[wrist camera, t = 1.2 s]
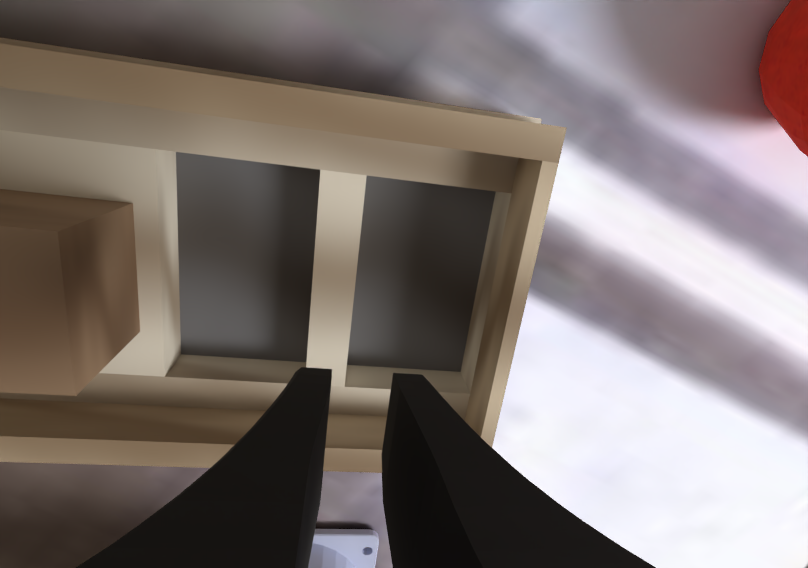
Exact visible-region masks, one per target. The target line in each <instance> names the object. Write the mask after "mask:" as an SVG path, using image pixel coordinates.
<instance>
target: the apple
mask: <svg viewBox="0 0 808 568" xmlns="http://www.w3.org/2000/svg"><path fill="white" fill-rule="evenodd" d="M759 75H760V81H761V87H762V93H763V99H764V104H765V105H766V107H767V108H768V109H769V111H770V112H771V113H772V114H773V116H774V117H775V118H776V120H777V121H778V122H779V124H780V125H781V126H782V128H783V129H784V130H785V131H786V133H787V134H788V135H789V137H790V138H791V139H792V141H793V142H794V143H795V144H796V146H797V147H798V148H799V150H800V151H802V152H803V153H804V154H805V155H807V156H808V0H791V1H790V2H789V4H788V5H787V7H786V8H785V9H784V11H783V12H782V14H781V15H780V16H779V18H778V19H777V21H776V22H775V24H774V25H773V26H772V28H771V29H770V31H769V33H768V37H767V40H766V44H765V48H764V51H763V55H762V59H761V62H760V66H759Z"/></svg>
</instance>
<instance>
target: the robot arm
mask: <svg viewBox="0 0 808 568" xmlns="http://www.w3.org/2000/svg"><path fill="white" fill-rule="evenodd" d="M331 380H332V369H323V368H307V367H301V368H300V369H298V370H297V371H296V372H295V373H294V375H293V377H292V378H291V380H290V381H289V383H288V384H287V385H286V387H285V388H284V390H283V391H282V392H281V393H280V395H279V396H278V397H277V399H276V400H275V401H274V402H273V404H272V405H271V406H270V407H269V408H268V409H267V411H266V412H265V413H264V414H263V415H262V416H261V417H260V419H259V420H258V421H257V422H256V423H255V424H254V425H253V427H252V428H251V429H250V430H249V431H248V432H247V433H246V434H245V435H244V436H243V437H242V438H241V439H240V440H239V441H238V442H237V443H236V444H235V445H234V446H233V447H232V448H231V449H230V450H229V451H228V452H227V453H226V454H225V455H224V456H223V457H222V458H221V459H220V460H219V461H217V462H216V463H215V464H214V465H213V466H212V467H211V468H210V469H209V470H208V471H206V472H205V473H204V474H203V475H202V476H201V477H200V478H198V479H197V480H196V481H195V482H194V483H192V484H191V485H190V486H189V487H188V488H186V489H185V490H184V491H183V492H182V493H180V494H179V495H178V496H177V497H175V498H174V499H173V500H172V501H170V502H169V503H168V504H166V505H165V506H164V507H162V508H161V509H160V510H158V511H157V512H156V513H154V514H153V515H152V516H150V517H149V518H148V519H147V520H145V521H144V522H143V523H141V524H140V525H138V526H137V527H136V528H134V529H133V530H132V531H130V532H129V533H127V534H126V535H125V536H123V537H122V538H120V539H119V540H117V541H116V542H115V543H113V544H112V545H110V546H109V547H107V548H106V549H104V550H103V551H101V552H99V553H98V554H96V555H95V556H93V557H92V558H90V559H89V560H87V561H86V562H84V563H82V564H81V565H79V566H78V567H76V568H375V564H376V557H377V551H378V544H379V539H378V534H377V532H376V531H374V530H370V529H315V527H316V521H317V516H318V510H319V505H320V498H321V488H322V477H323V466H324V456H325V445H326V435H327V424H328V413H329V403H330V392H331ZM382 487H383V504H384V511H385V518H386V525H387V531H388V538H389V545H390V551H391V558H392V564H393V568H655V567H654V566H652V565H651V564H649V563H647V562H646V561H644V560H642V559H641V558H639V557H637V556H636V555H634V554H633V553H631V552H629V551H628V550H626V549H624V548H623V547H621V546H620V545H618V544H617V543H615V542H614V541H612V540H611V539H609V538H608V537H606V536H605V535H603V534H602V533H600V532H599V531H597V530H596V529H594V528H593V527H591V526H590V525H588V524H587V523H585V522H584V521H582V520H581V519H579V518H578V517H576V516H575V515H574V514H572V513H571V512H569V511H568V510H567V509H565V508H564V507H562V506H561V505H560V504H558V503H557V502H556V501H555V500H553V499H552V498H551V497H549V496H548V495H547V494H546V493H544V492H543V491H542V490H540V489H539V488H538V487H537V486H535V485H534V484H533V483H531V482H530V481H529V480H528V479H526V478H525V477H524V476H523V475H522V474H520V473H519V472H518V471H517V470H516V469H515V468H513V467H512V466H511V465H510V464H509V463H508V462H507V461H506V460H505V459H503V458H502V457H501V456H500V455H499V454H498V453H497V452H496V451H495V450H494V449H493V448H491V447H490V446H489V445H488V444H487V443H486V442H485V441H484V440H483V439H482V438H481V437H480V436H479V435H478V434H477V433H476V432H475V431H474V430H473V429H472V428H471V427H470V426H469V425H468V424H467V423H466V422H465V421H464V420H463V419H462V418H461V417H460V415H459V414H458V413H457V412H456V411H455V410H454V409H453V408H452V407H451V406H450V405H449V403H448V402H447V401H446V400H445V399H444V398H443V397H442V396H441V395H440V393H439V392H438V391H437V390H436V389H435V388H434V387H433V386H432V384H431V383H430V382H429V381H428V380H427V379H426V378H425V377H424V376H423V375H421V374H405V373H393V377H392V385H391V392H390V399H389V406H388V413H387V420H386V427H385V434H384V441H383V448H382ZM365 547H370V548H365Z"/></svg>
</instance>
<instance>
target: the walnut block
mask: <svg viewBox="0 0 808 568" xmlns="http://www.w3.org/2000/svg"><path fill="white" fill-rule="evenodd" d="M139 332H140V318H139V301H138V283H137V265H136V247H135V230H134V212H133V203H128V202H118V201H109V200H100V199H90V198H81V197H72V196H62V195H53V194H44V193H34V192H25V191H16V190H6V189H0V392H5V393H25V394H46V395H66V396H76V395H77V394H78V393H79V392H80V391H81V390H82V389H83V388H84V387H85V386H86V385H87V384H88V383H89V382H90V381H91V380H92V379H93V378H94V377H95V376H96V375H97V374H98V373H99V372H100V371H101V370H102V369H103V368H104V367H105V366H106V365H107V364H108V363H109V362H110V361H111V360H112V359H113V358H114V357H115V356H116V355H117V354H118V353H119V352H120V351H121V350H122V349H123V348H124V347H125V346H126V345H127V344H128V343H129V342H130V341H131V340H132V339H133V338H134V337H135V336H136V335H137V334H138V333H139Z"/></svg>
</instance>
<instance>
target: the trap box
mask: <svg viewBox="0 0 808 568" xmlns="http://www.w3.org/2000/svg"><path fill="white" fill-rule="evenodd" d="M541 120H542V119H539V118H532V117H525V116H519V115H512V114H505V113H499V112H492V111H486V110H479V109H472V108H466V107H459V106H452V105H446V104H439V103H432V102H426V101H419V100H412V99H406V98H399V97H393V96H386V95H379V94H373V93H366V92H359V91H353V90H346V89H339V88H333V87H326V86H320V85H313V84H306V83H300V82H293V81H286V80H280V79H273V78H266V77H260V76H253V75H246V74H240V73H233V72H227V71H220V70H213V69H207V68H200V67H193V66H187V65H180V64H173V63H167V62H160V61H154V60H147V59H140V58H134V57H127V56H120V55H114V54H107V53H100V52H94V51H87V50H80V49H74V48H67V47H61V46H54V45H47V44H41V43H34V42H27V41H21V40H14V39H7V38H1V37H0V189H6V190H16V191H25V192H34V193H44V194H53V195H62V196H72V197H81V198H90V199H100V200H109V201H118V202H128V203H133V212H134V230H135V247H136V265H137V283H138V301H139V318H140V332H139V333H138V334H137V335H136V336H135V337H134V338H133V339H132V340H131V341H130V342H129V343H128V344H127V345H126V346H125V347H124V348H123V349H122V350H121V351H120V352H119V353H118V354H117V355H116V356H115V357H114V358H113V359H112V360H111V361H110V362H109V363H108V364H107V365H106V366H105V367H104V368H103V369H102V370H101V371H100V372H99V373H98V374H97V375H96V376H95V377H94V378H93V379H92V380H91V381H90V382H89V383H88V384H87V385H86V386H85V387H84V388H83V389H82V390H81V391H80V392H79V393H78V394H77V395H76V396H66V395H46V394H25V393H5V392H0V462H28V463H63V464H98V465H132V466H167V467H202V468H211V467H212V466H213V465H214V464H215V463H216V462H217V461H219V460H220V459H221V458H222V457H223V456H224V455H225V454H226V453H227V452H228V451H229V450H230V449H231V448H232V447H233V446H234V445H235V444H236V443H237V442H238V441H239V440H240V439H241V438H242V437H243V436H244V435H245V434H246V433H247V432H248V431H249V430H250V429H251V428H252V427H253V425H254V424H255V423H256V422H257V421H258V420H259V419H260V417H261V416H262V415H263V414H264V413H265V412H266V411H267V409H268V408H269V407H270V406H271V405H272V404H273V402H274V401H275V400H276V399H277V397H278V396H279V395H280V393H281V392H282V391H283V390H284V388H285V387H286V385H287V384H288V383H289V381H290V380H291V378H292V377H293V375H294V373H295V372H296V371H297V370H298V369H300V368H301V367H307V368H323V369H332V380H331V392H330V403H329V413H328V424H327V435H326V445H325V456H324V466H323V471H340V472H375V473H382V448H383V441H384V434H385V427H386V420H387V413H388V406H389V399H390V392H391V385H392V377H393V373H405V374H421V375H423V376H424V377H425V378H426V379H427V380H428V381H429V382H430V383H431V384H432V386H433V387H434V388H435V389H436V390H437V391H438V392H439V393H440V395H441V396H442V397H443V398H444V399H445V400H446V401H447V402H448V403H449V405H450V406H451V407H452V408H453V409H454V410H455V411H456V412H457V413H458V414H459V415H460V417H461V418H462V419H463V420H464V421H465V422H466V423H467V424H468V425H469V426H470V427H471V428H472V429H473V430H474V431H475V432H476V433H477V434H478V435H479V436H480V437H481V438H482V439H483V440H484V441H485V442H486V443H487V444H488V445H489V446H490V447H491V448H492V445H493V441H494V436H495V432H496V428H497V423H498V419H499V415H500V411H501V406H502V402H503V398H504V393H505V389H506V385H507V381H508V376H509V372H510V368H511V364H512V359H513V355H514V351H515V346H516V342H517V338H518V334H519V329H520V325H521V321H522V317H523V312H524V308H525V304H526V299H527V295H528V291H529V287H530V282H531V278H532V274H533V270H534V265H535V261H536V257H537V252H538V248H539V244H540V240H541V235H542V231H543V227H544V222H545V218H546V214H547V210H548V205H549V201H550V197H551V193H552V188H553V184H554V180H555V175H556V171H557V167H558V163H559V158H560V154H561V150H562V146H563V141H564V137H565V133H566V128H565V127H558V126H552V125H545V124H541Z"/></svg>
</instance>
